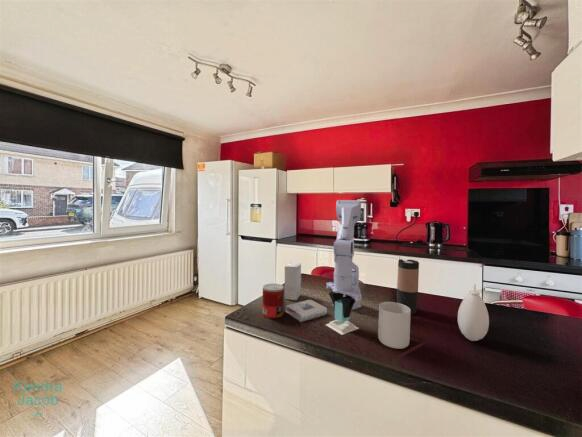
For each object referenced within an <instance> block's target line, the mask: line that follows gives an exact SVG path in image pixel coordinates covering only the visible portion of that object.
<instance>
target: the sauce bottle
mask: <svg viewBox="0 0 582 437" xmlns="http://www.w3.org/2000/svg"><path fill="white" fill-rule="evenodd" d="M457 324H458V329H459V330H460V332H461V334H462V335H463V336H464V337H465V338H466V339H468V341H471V342H476V341H477V342H478V341H479V340H482V339H484V337H485V336H487V333H488V332H489V326H490V317H489V311H488V308H487V306H486V303H485V302H484V300H483V298H482V297H481V296H480V292H479V291H477V290H476V283H474V284H473V290H470V291H469V292H468V293H467V295H465V296H464V297H463V300H462V301H461V302H460V305H459V307H458V311H457Z"/></svg>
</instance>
